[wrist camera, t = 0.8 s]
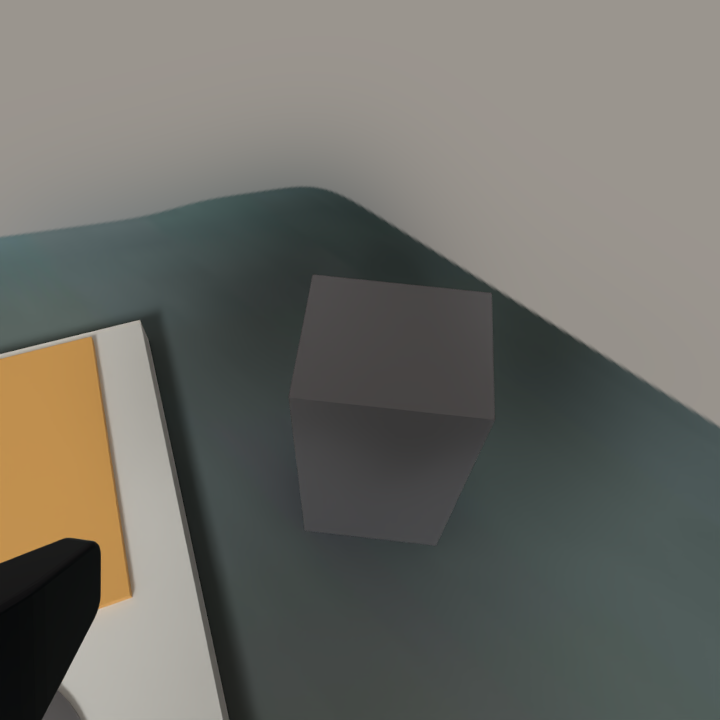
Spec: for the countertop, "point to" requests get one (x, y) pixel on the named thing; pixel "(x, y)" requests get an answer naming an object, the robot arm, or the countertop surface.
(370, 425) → the chute block
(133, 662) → the white plate with inlay
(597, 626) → the countertop surface
